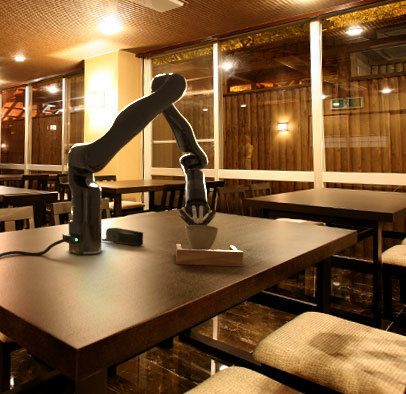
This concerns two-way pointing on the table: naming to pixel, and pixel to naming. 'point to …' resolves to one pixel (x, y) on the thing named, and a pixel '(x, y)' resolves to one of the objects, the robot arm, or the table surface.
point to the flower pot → (201, 236)
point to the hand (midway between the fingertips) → (198, 234)
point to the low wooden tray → (209, 256)
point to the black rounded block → (124, 236)
